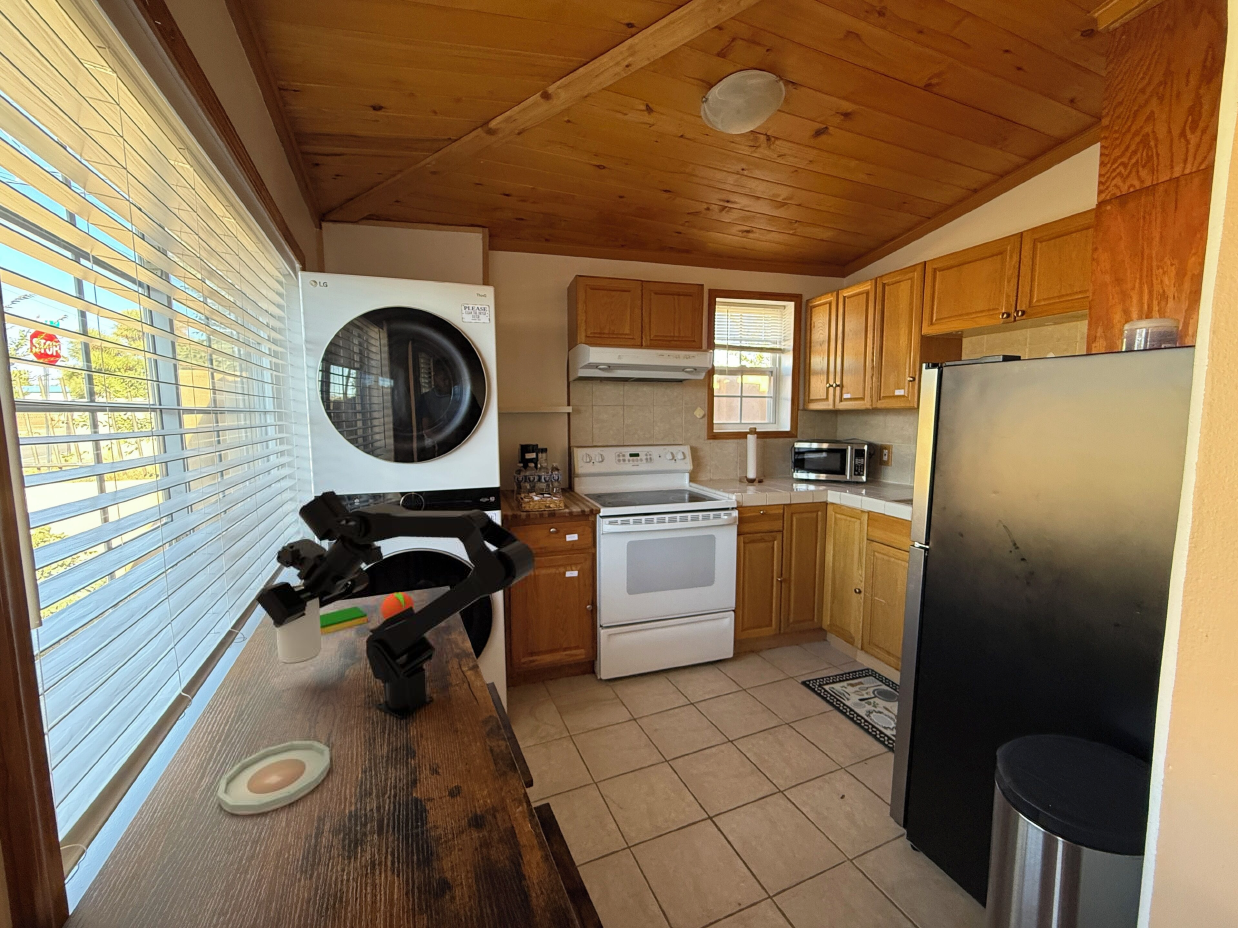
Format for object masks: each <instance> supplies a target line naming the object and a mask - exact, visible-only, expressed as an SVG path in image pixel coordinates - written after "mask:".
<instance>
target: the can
mask: <svg viewBox="0 0 1238 928" xmlns="http://www.w3.org/2000/svg"><path fill="white" fill-rule="evenodd" d="M291 586H292V587H293V588H294V589H295V591H297V590H300V589H303V588H304V587H303V586H302V584H296V585H291ZM320 609H321V608H320ZM320 609H319V598H317V599H315V600H312V601H310V602H308V603H307V606H306V610H305V611H304V613H305V614H306V615H305V616H303V617H300V618H298V619H296V620H294V621H292V622H289V623H287V624H285V625H283V626H281V627H278V628H276V627H275V628H276V641H277V653H278V654H277V656H278V660H279V661H280V662H281V663H282V664H283V663H284V664H288V665H291V664H292V665H294V664H301V663H304V662H307V661H310V660H312V659H315V658H316V657H317V656H319V655H320V653H321V652H322V635H321V627H320V615H321V614H320V613H321V610H320Z"/></svg>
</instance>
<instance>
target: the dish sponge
mask: <svg viewBox="0 0 1238 928" xmlns="http://www.w3.org/2000/svg"><path fill="white" fill-rule="evenodd" d="M367 615H368V614H367V613H366V612H364V610H362V609H360V608H359V607H358V606H352V607H348V608H344V609H340V610H336V611H331V612H328V613H322V614H320V627H321V636H322V635H325V634H328V633H332V632H335V631H340V630H343V629H347V628H351V627H354V626H359V625H362V624H366V623H367V622H368V616H367Z"/></svg>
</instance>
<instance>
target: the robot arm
mask: <svg viewBox="0 0 1238 928" xmlns="http://www.w3.org/2000/svg"><path fill="white" fill-rule="evenodd" d="M298 515H299V517H300V518H301V519H302V520H303V522H304V523H305V525H307V527H308V528H309V529H310V531H311V532H312V534H314V535H315V537H316V539H318V541H320V542H322V541H323V542H324V541H328V542H333V544H332V545H331V546H330V547H329V548H328V549H326V548H325V546H323V545H320V544H319V543H318V542H316V541H314V540H312V539H309V538H302V539H298V540H295V541H292V542H288V543H287V544H286V545H283V546H282V548H281V549H280V550H278V551H277V555H276V562H277V563H278V564H280V565H281V566H283V567H285V568H287V569H288V568H293V569H296V571H298V572H297V574H296V577H297V578H298V579H299V580H300V581H303V582H302V583H301V585H302V586H303V587H304V588H303V589H300V590H297V591H295V589H294V588H293V587H292V586H293V585H291V583H290V582H288V581H280V582H277V583H274V584H272V585H269V586H266V587H263V588H262V589H261V590H260V591H259V592H258V594H257V596H256V598H255V600H256V601H257V603H258V604H259V605H260V607H261V608H262V609H263V610H264V611H265V612H266V614H267V615H268V616H269V617H270V618H271V620H272V625H273V626H274V627H275V628H278V627H281V626H283V625H285V624H287V623H289V622H292V621H294V620H296V619H298V618H300V617H303V616H305V615H306V614H305V613H304V611H305V610H306V606H307V603H308V602H310V601H312V600H315V599H317V598H319V609H323V608H324V607H327V606H329V605H331V604H334V603H335V602H338V601H340V600H342V599H344V598H347V597H349V596H351V595H352V594H354V593H356V592H358V591H361V590H363V589H365V587H366V586H367V585H368V584H369V582H370V577H369V574H368V573H367V572H366V571H365V570H364V568H363V567H362V565H363V564H364V565H366V566H370V565H372V564H376V563H378V562H382V561H383V560H384V554H383V552H382V546H381V545H376V543H377V542H381V541H386V540H390V539H391V540H392V539H396V538H434V539H435V538H439V539H441V538H443V539H445V538H446V539H458V541H459V542H461V544H462V545H463V547H464V550H465V553H466V556H467V558H468V561H469V562H470V564H471V565H472V566H473V568H472V570H471V571H470V572H469V574H468V576H467V577H466V578H464V579H463V580H461V581H460V582H459V583H457V584H456V585H454V586H452V587H451V588H450V589H449V590H447V591H445V592H444V593H443V594H441V595H439V596H438V597H437V598H435V599H434V600H433V601H431V602H430V603H428V604H427V605H425V606H424V607H422V608H421V609H419V610H418V611H416V612H415V610H414V608H413V607H412V606H411V607H409V608H407V609H405V610H403V611H401V612H399V613H397V614H395V615H393V616H391V617H389V618H387V619H384V620H383V622H381V624H379V625H377V626H375V627H372V628H371V629H369V632H370V633H371V634H370V635H368V636H367V638H366V639H365V645H366V647H365V648H366V649H365V653H366V657H367V660H368V662H369V666H370V669H371V672H372V674H373V678H374V680H378V681H381V684H383V694H384V695H383V696H384V700H382V701H381V702H380V703H378V704H377V705H376V709H377V710H380V711H382V712H385V713H387V714H389V715H392V716H394V717H396V718H399V719H406V718H408V717H409V716H410V715H412V714H414V713H416V712H417V711H419V710H420V709H422V708H423V707H425V706H427V705H428V704H430V703H432V702H433V701H434V700H435V696H433V695H431V694H428V693H427V681H426V679H427V678H426V668H425V667H424V665H425V664H427V663H428V662H430V661H432V660H433V658H434V655H435V652H436V647H434V645H433V644H432V643H431V642H430V641H429V639H428V636H430V633H431V631H432V630H434V629H435V628H437V627H438V626H439V625H441V624H443V623H445V622H446V621H447V620H449V619H451V618H452V617H453V616H455V615H456V614H457V613H459V612H461V611H462V610H463V609H466V608H467V607H468V606H470V605H471V604H473V603H474V602H476V601H477V600H479V599H481V598H482V597H487V596H491V595H494V594H495V593H499V592H501V591H503V590H505V589H508V588H509V587H511V586H512V585H514V584H516V583H517V582H518V581H520V580H522V579H523V578H525V577H527V576H528V575H529V574H531V573H532V572H533V570H534V569H535V562H536V559H535V554H534V552H533V550H532V548H531V547H530V546H529V545H527V544H526V543H525V542H523V541H521V540H520V539H519V538H518V536H516V535H515V533H514V532H512V531H511V530H509V529H507V528H505V527H504V526H502V525H501V524H499V523H497V522H496V521H494V520H493V519H492V518H491V516H490V515H488V513H486V512H485V511H484V510H480V509H472V510H411V509H406V508H405V507H404V506H401V505H398V504H397V505H396V504H392V503H388V502H387V503H386V502H384V503H379V504H374V505H370V506H365V507H360V508H355V509H353V510H351V511H349V510H348V507H346V505H344V503H343V502H342V501H341V499H340V498H339V496H338V495H337V493H336V492H335V490H330V491H329V490H328V491H323V492H322V493H321V495H320V496H317V497H316V498H314V499H311V500H310V501H308V502H307V503H306V504H303V505H302V506H301V507H300V509H299V511H298ZM486 543H488V544H490V545H491V546H493V547H495V548H496V549H494V550H492V549H491V548H490V547H489V546H488V545H487V544H486ZM350 585H352V587H351V588H350V587H349V586H350Z"/></svg>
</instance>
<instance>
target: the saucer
mask: <svg viewBox="0 0 1238 928" xmlns="http://www.w3.org/2000/svg"><path fill="white" fill-rule="evenodd" d="M330 758H331V757H330V748H329V747H328V746H327V745H324V744H322V743H320V742H318V741H316V740H295V741H287V742H284V743H282V744H278V745H274V746H270V747H267V748H264V749H262V750H260V751H258V752H257V753H254V754H252V755H251V756H248V757H247V758H245V759H243V760H240V761H239V762H238V763H237V764H235V766H233V767H232V769H231V770H230V771H229V772H227V773H226V774H225V775H224V776H223V777H221V780H220V783H219V788H218V792H217V795H216V797H217V802H218V803H219V804H220V806H221V808H222V809H223V810H224V811H225V812H227V813H230V814H233V815H240V816H247V815H248V816H249V815H250V816H251V815H256V814H264V813H267V812H271V811H274V810H277V809H279V808H282V807H284V806H287V805H289V804H292V803H293V802H295V801H298V800H300V799H301V798H303V797H304V796H305V795H307V794H309V793H310V792H311V791H313V790H314V789H315V788H316V787H318V785H320V783H321V782H322V781H323V780H324V779H325V777H326V776H327V774H328V773H329V770H330V768H331V762H330Z"/></svg>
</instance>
